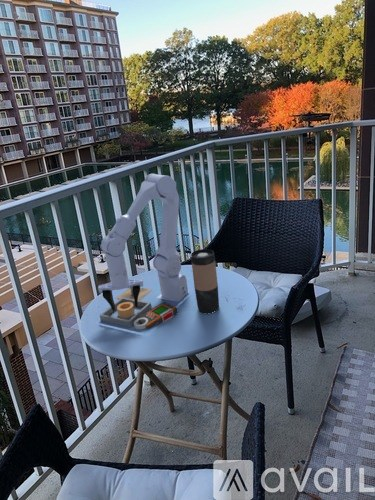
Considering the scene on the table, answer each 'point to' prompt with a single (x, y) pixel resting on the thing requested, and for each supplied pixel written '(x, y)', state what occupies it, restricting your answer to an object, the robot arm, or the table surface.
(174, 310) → the electronic device
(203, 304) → the travel mug
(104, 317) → the tray
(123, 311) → the ring
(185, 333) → the table surface
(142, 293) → the tan square plate
